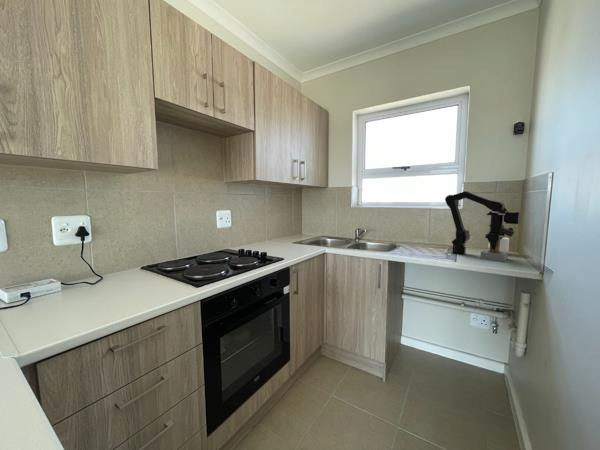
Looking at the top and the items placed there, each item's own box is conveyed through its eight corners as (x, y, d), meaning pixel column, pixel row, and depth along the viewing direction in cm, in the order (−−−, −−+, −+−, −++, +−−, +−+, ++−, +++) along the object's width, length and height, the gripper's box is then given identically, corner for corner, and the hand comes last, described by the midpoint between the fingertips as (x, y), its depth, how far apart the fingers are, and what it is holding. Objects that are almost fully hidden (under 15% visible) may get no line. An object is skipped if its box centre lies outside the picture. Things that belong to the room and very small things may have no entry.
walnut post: (489, 254, 147) (490, 238, 146) (490, 253, 150) (492, 237, 149) (497, 255, 144) (498, 239, 143) (499, 254, 147) (500, 238, 146)
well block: (480, 258, 148) (480, 251, 147) (485, 255, 155) (485, 249, 155) (503, 261, 139) (504, 254, 139) (507, 258, 147) (508, 252, 146)
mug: (492, 254, 157) (493, 239, 156) (483, 252, 165) (484, 237, 164) (511, 254, 157) (512, 238, 156) (501, 252, 165) (502, 237, 164)
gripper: (511, 225, 133) (508, 253, 135) (517, 222, 145) (515, 248, 147) (486, 223, 141) (484, 250, 143) (493, 221, 153) (491, 246, 155)
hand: (494, 249), depth 147 cm, fingers closed on walnut post, 4 cm apart
